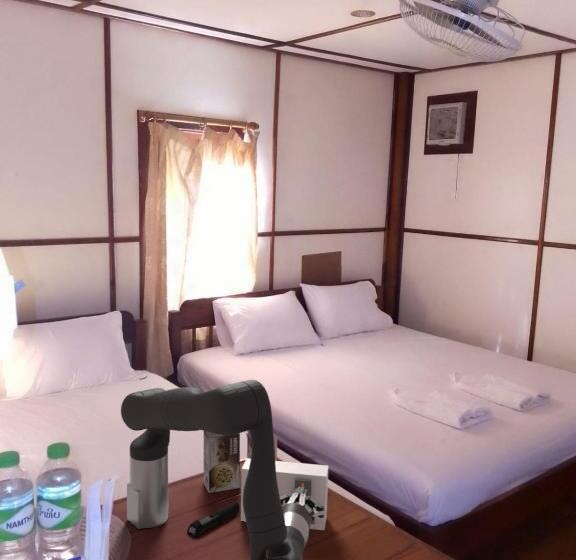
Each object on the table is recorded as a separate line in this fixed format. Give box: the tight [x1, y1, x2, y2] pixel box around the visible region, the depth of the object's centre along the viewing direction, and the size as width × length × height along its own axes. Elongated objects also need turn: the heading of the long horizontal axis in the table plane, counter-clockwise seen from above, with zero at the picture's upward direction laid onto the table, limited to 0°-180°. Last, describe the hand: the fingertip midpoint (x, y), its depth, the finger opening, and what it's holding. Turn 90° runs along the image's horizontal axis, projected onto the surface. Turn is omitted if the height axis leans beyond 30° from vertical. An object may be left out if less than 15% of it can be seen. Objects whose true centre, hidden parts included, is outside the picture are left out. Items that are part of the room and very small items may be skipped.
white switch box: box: [240, 457, 329, 531], centre depth 152 cm, size 21×6×14 cm, turn 81°
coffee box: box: [203, 431, 241, 494], centre depth 169 cm, size 9×6×16 cm
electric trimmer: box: [186, 501, 240, 538], centre depth 151 cm, size 4×16×3 cm, turn 138°
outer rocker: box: [294, 479, 312, 497], centre depth 147 cm, size 4×1×6 cm, turn 81°
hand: (301, 490), depth 144 cm, fingers closed
